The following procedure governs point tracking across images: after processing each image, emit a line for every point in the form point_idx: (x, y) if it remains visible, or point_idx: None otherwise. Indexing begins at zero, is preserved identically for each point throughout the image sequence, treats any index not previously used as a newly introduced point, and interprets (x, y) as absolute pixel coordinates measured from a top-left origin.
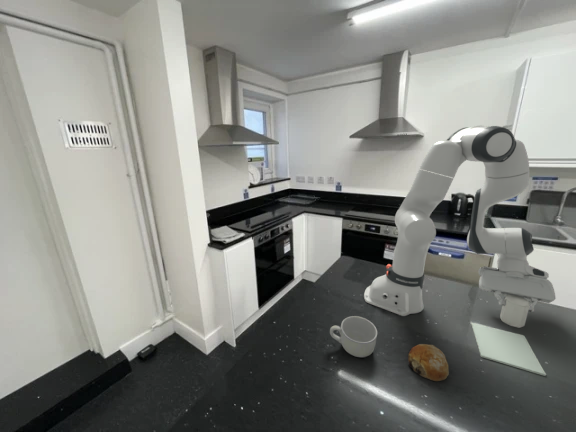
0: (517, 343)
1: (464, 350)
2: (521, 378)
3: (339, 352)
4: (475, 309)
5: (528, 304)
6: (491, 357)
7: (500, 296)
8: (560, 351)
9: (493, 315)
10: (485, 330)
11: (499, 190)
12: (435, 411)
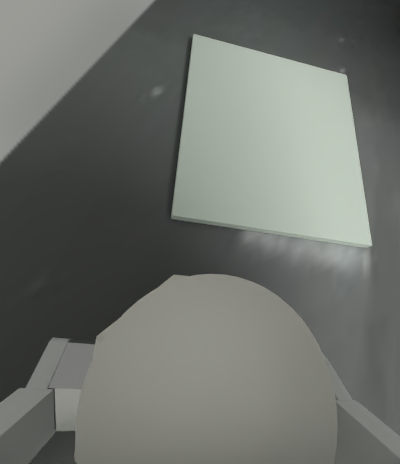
0: (223, 152)
1: (379, 96)
2: (258, 29)
3: None
4: None
5: (122, 316)
6: (322, 70)
7: (374, 433)
8: (50, 161)
9: None
10: (324, 201)
11: None
12: None
